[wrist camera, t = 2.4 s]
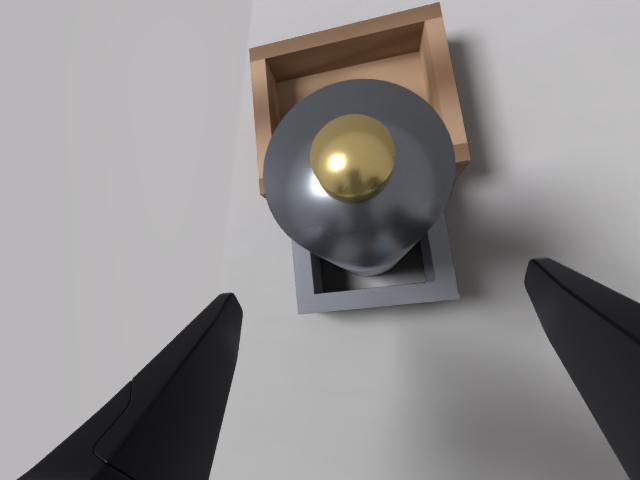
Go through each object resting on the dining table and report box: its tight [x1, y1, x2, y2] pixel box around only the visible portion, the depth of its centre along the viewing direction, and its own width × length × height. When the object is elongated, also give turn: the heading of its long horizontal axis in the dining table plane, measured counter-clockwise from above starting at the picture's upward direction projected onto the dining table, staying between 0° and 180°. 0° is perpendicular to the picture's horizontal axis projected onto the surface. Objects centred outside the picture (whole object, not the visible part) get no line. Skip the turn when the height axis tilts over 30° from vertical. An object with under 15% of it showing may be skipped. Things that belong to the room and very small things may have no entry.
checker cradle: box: [292, 210, 459, 314], centre depth 18 cm, size 8×8×3 cm
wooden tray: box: [249, 2, 471, 198], centre depth 20 cm, size 10×12×3 cm
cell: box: [263, 79, 455, 276], centre depth 14 cm, size 5×5×13 cm
